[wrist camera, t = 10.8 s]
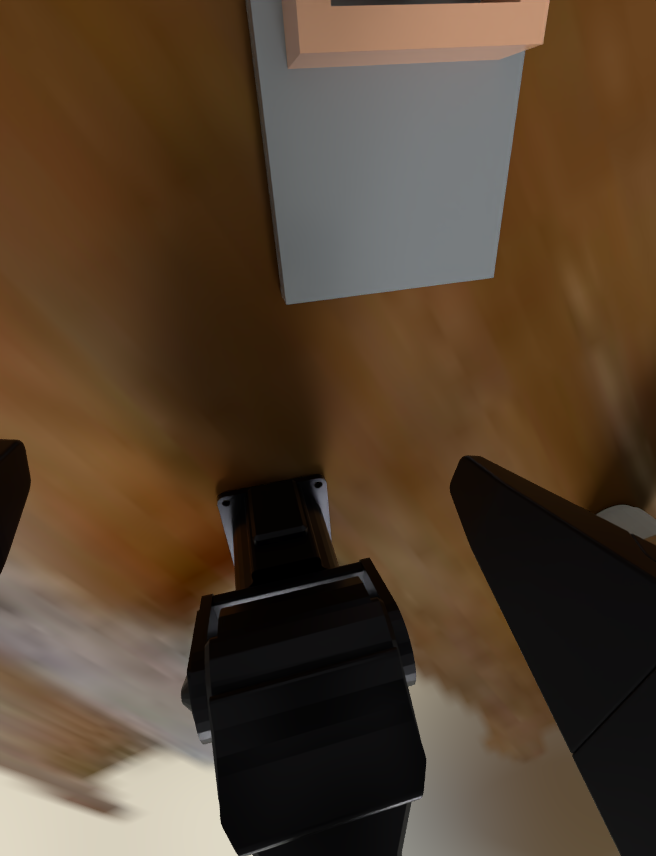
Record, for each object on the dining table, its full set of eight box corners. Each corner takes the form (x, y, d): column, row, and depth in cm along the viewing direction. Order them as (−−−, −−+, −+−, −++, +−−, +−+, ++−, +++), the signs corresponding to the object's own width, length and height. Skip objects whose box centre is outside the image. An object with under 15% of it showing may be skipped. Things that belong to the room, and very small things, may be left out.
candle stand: (477, 271, 22) (525, 290, 18) (281, 295, 20) (295, 322, 17) (542, -276, 13) (655, -426, 10) (208, -306, 11) (205, -498, 8)
